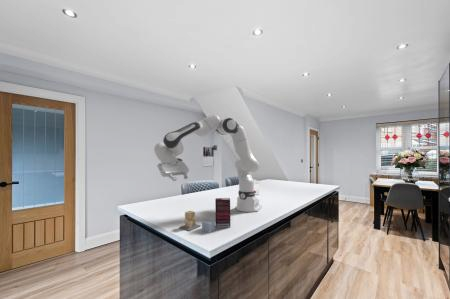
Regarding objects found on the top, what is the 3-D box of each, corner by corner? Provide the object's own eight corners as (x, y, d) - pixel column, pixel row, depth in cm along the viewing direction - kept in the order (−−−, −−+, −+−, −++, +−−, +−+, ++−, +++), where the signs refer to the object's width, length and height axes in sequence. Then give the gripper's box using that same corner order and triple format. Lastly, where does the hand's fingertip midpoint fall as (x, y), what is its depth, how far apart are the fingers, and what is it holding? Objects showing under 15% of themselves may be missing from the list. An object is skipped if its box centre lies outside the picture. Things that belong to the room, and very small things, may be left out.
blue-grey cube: (207, 228, 115) (208, 219, 115) (215, 230, 112) (215, 221, 112) (202, 231, 111) (202, 221, 111) (209, 233, 108) (209, 223, 108)
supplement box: (230, 224, 121) (230, 197, 121) (230, 227, 116) (230, 199, 116) (215, 224, 120) (215, 197, 121) (215, 227, 116) (215, 199, 116)
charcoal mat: (190, 223, 122) (190, 222, 122) (200, 226, 118) (200, 225, 118) (179, 228, 115) (179, 227, 115) (189, 231, 110) (189, 230, 110)
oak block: (189, 224, 119) (190, 210, 119) (195, 225, 117) (195, 211, 117) (185, 226, 116) (185, 212, 116) (190, 227, 114) (190, 213, 114)
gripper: (158, 160, 120) (170, 177, 114) (183, 159, 137) (194, 174, 131) (153, 167, 123) (164, 185, 117) (179, 165, 139) (190, 180, 134)
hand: (181, 179), depth 124 cm, fingers open, 8 cm apart
